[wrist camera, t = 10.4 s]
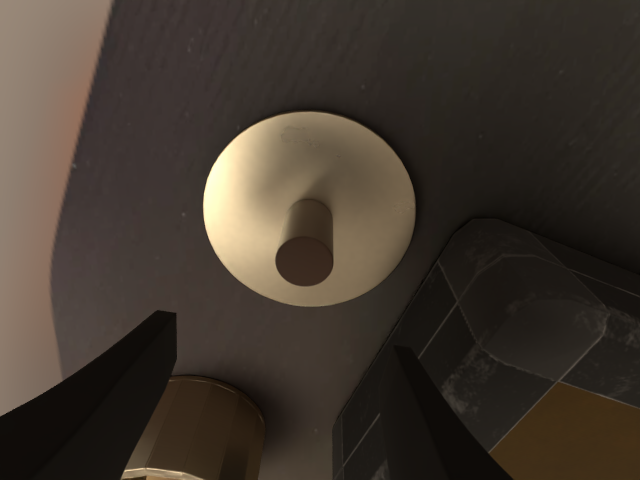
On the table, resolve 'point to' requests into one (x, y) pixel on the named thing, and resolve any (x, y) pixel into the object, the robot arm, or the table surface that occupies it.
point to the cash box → (517, 359)
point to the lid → (309, 208)
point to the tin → (200, 434)
